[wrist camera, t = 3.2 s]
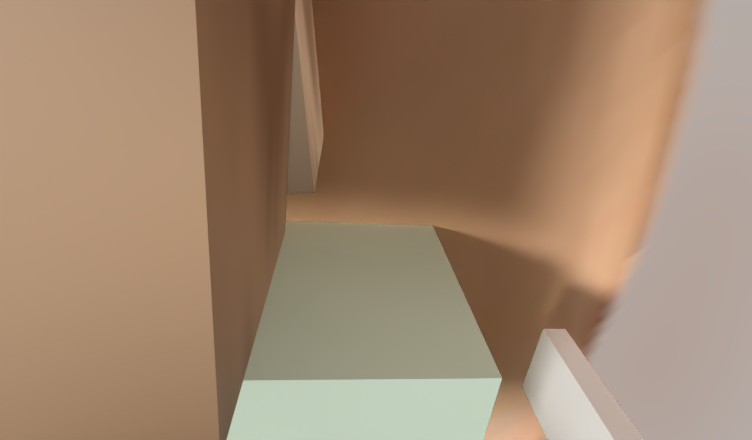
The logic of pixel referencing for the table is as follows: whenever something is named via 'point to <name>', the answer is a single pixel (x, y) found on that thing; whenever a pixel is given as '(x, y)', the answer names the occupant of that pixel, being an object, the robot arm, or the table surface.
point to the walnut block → (137, 210)
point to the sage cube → (365, 342)
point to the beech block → (304, 105)
